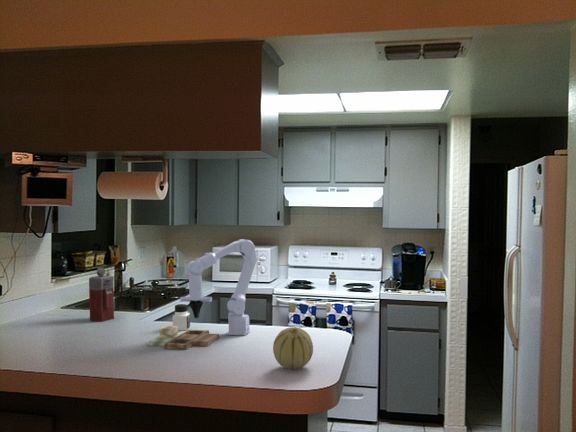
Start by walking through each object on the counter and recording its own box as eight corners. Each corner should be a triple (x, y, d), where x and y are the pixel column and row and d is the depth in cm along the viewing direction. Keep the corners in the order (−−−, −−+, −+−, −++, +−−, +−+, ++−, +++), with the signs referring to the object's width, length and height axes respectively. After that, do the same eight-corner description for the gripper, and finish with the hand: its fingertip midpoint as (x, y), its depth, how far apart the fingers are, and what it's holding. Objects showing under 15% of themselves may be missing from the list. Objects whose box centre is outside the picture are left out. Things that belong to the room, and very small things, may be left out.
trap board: (223, 335, 240) (223, 330, 240) (202, 350, 214) (202, 345, 214) (171, 333, 245) (170, 329, 245) (144, 348, 219) (144, 343, 219)
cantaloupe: (297, 359, 197) (296, 320, 197) (322, 368, 185) (321, 326, 185) (264, 367, 188) (264, 326, 188) (289, 377, 176) (288, 333, 176)
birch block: (178, 334, 233) (177, 326, 233) (172, 338, 228) (172, 329, 227) (165, 334, 235) (165, 325, 235) (159, 337, 229) (159, 328, 229)
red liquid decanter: (106, 322, 275) (104, 269, 274) (89, 320, 279) (88, 268, 279) (117, 318, 283) (116, 267, 283) (101, 317, 287) (100, 266, 287)
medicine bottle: (187, 330, 251) (186, 305, 251) (172, 330, 251) (172, 305, 251) (190, 327, 258) (189, 303, 258) (176, 327, 258) (175, 303, 258)
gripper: (177, 289, 233) (178, 319, 233) (207, 289, 230) (208, 319, 230) (183, 286, 239) (184, 315, 240) (213, 286, 237) (214, 316, 237)
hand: (196, 317), depth 235 cm, fingers closed
